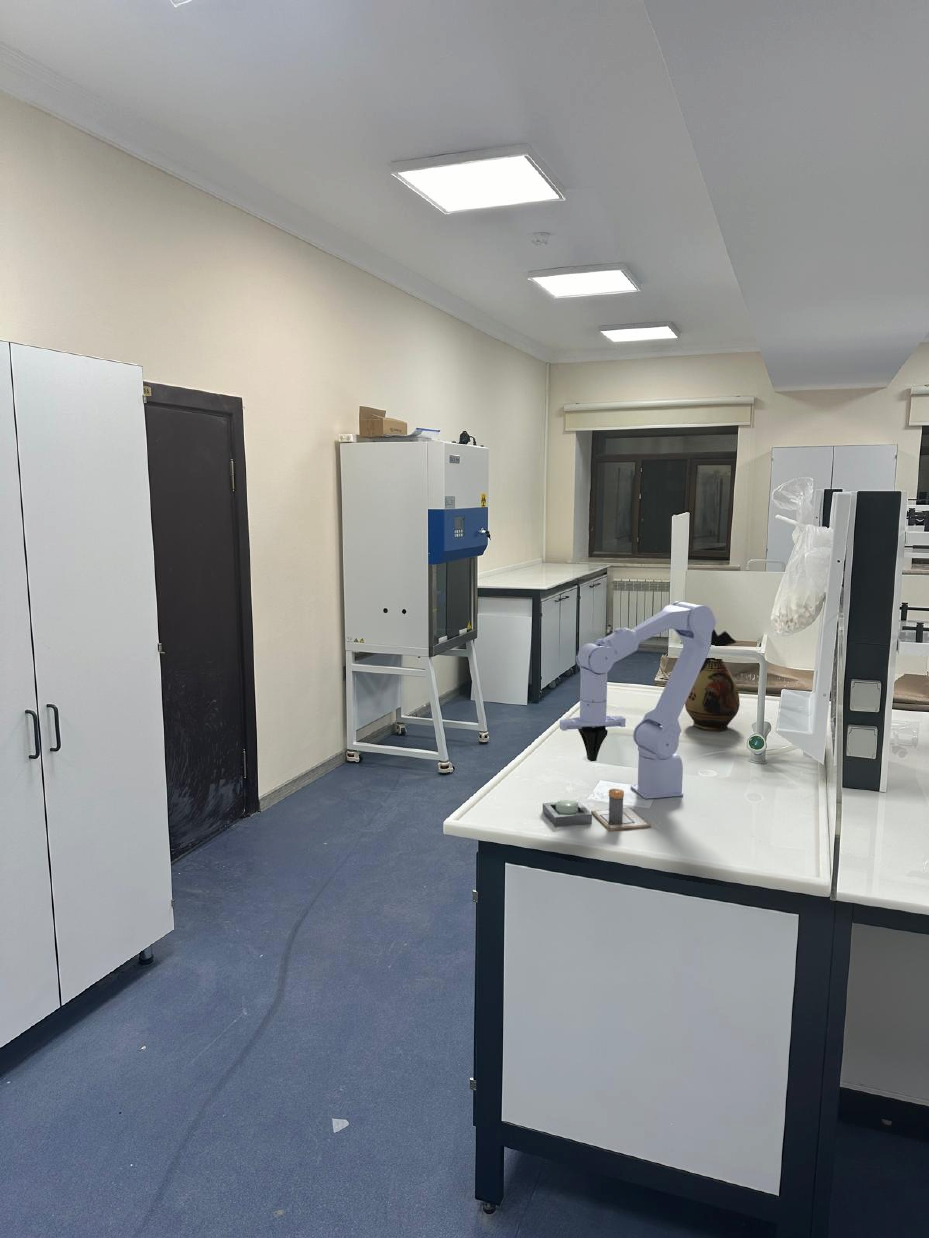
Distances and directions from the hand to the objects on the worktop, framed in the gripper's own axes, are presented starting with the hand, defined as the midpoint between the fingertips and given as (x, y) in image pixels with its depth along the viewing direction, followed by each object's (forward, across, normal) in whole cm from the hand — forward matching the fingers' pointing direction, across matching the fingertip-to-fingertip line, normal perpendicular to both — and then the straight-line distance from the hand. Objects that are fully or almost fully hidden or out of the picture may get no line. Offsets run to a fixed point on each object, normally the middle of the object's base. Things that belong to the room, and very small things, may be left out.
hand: (591, 759), depth 178 cm
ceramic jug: (+10, -56, -49) cm, 75 cm away
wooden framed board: (+9, -2, +12) cm, 15 cm away
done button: (+9, +9, +8) cm, 15 cm away
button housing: (+9, +8, +8) cm, 15 cm away
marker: (+9, 0, +14) cm, 16 cm away
